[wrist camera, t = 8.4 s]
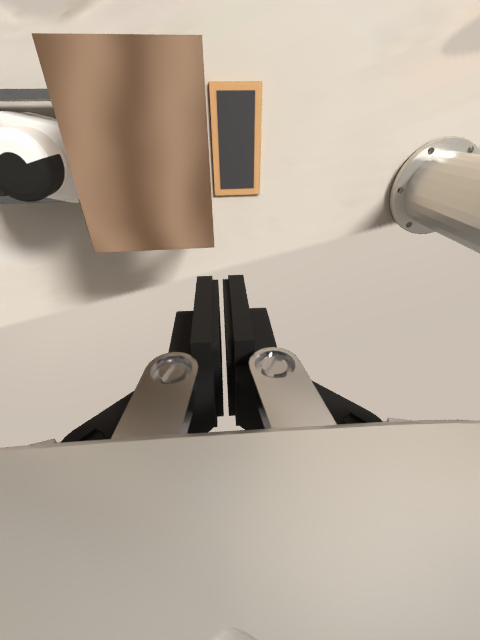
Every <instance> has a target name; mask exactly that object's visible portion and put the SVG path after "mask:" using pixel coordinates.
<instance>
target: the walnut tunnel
mask: <svg viewBox="0 0 480 640" xmlns="http://www.w3.org/2000/svg"><path fill="white" fill-rule="evenodd" d="M32 36H33V40H34V43H35V47H36V50H37V54H38V57H39V61H40V64H41V68H42V71H43V74H44V78H45V81H46V85H47V88H48V92H49V95H50V99H51V102H52V106H53V109H54V113H55V116H56V120H57V123H58V127H59V130H60V134H61V137H62V140H63V144H64V147H65V151H66V154H67V158H68V161H69V165H70V168H71V172H72V175H73V179H74V182H75V186H76V189H77V193H78V196H79V199H80V203H81V206H82V210H83V213H84V217H85V220H86V224H87V227H88V231H89V234H90V238H91V241H92V245H93V248H94V252H95V253H102V252H124V251H145V250H167V249H189V248H210V247H214V234H213V217H212V200H211V183H210V166H209V149H208V132H207V115H206V98H205V81H204V64H203V47H202V35H139V34H36V33H32Z"/></svg>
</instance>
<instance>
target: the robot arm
mask: <svg viewBox="0 0 480 640" xmlns="http://www.w3.org/2000/svg"><path fill="white" fill-rule="evenodd" d="M397 190H398V191H397ZM390 209H391V213H392V216H393V218H394V220H395V221H396V223H397V224H398V225H399V226H400V227H402V228H403V229H405V230H407V231H409V232H412V233H417V234H427V233H431V232H438V233H440V234H441V235H444V236H446V237H448V238H450V239H452V240H454V241H456V242H458V243H460V244H462V245H464V246H466V247H468V248H470V249H472V250H474V251H476V252H478V253H480V150H479V149H478V147H477V146H476V145H475V144H474V143H473V142H472V141H470V140H468V139H465V138H462V137H443V138H439V139H436V140H434V141H431V142H429V143H427V144H426V145H424V146H423V147H421V148H420V149H418V150H417V151H416V152H415V153H414V154H413V155H411V156H410V158H409V159H408V160H407V161H406V162H405V163H404V165H403V166H402V168H401V169H400V171H399V173H398V174H397V176H396V179H395V181H394V183H393V187H392V190H391V196H390ZM223 297H224V319H225V341H226V342H225V343H226V362H227V363H226V365H227V384H228V406H229V416H233V415H235V417H236V426H241V427H242V428H244V429H245V430H240V431H224V432H210V433H208V432H209V431H210V430H211V429H212V428H213V427H217V416H223V415H224V413H223V381H222V350H221V349H222V348H221V327H220V307H219V288H218V280H212V276H197V283H196V292H195V302H194V311H180V312H179V311H178V312H177V313H176V317H175V322H174V328H173V333H172V338H171V343H170V348H169V353H166V354H162V355H160V356H158V357H156V358H155V359H153V360H152V361H151V362H150V363H149V364H148V365H147V367H146V368H145V370H144V373H143V374H142V376H141V378H140V381H139V383H138V385H137V387H136V389H135V391H133V392H132V393H130V394H129V395H127V396H126V397H124V398H122V399H121V400H119V401H118V402H116V403H115V404H113V405H112V406H110V407H109V408H107V409H105V410H104V411H103V412H101V413H99V414H98V415H96V416H95V417H93V418H92V419H90V420H88V421H87V422H85V423H84V424H82V425H81V426H79V427H78V428H76V429H75V430H73V431H72V432H71V433H69V434H68V435H67V436H66V437H65V438H64V439H63V440H62V441H61V442H58V443H57V442H56V441H55V439H51V440H47V441H43V442H40V443H36V444H31V445H27V446H16V447H6V448H0V640H480V421H471V420H421V421H420V420H419V421H411V420H403V419H395V418H388V419H387V422H386V421H382V420H381V419H380V418H378V417H377V416H376V415H374V414H373V413H371V412H370V411H368V410H366V409H364V408H362V407H361V406H359V405H357V404H355V403H353V402H351V401H349V400H347V399H345V398H344V397H342V396H340V395H338V394H336V393H334V392H332V391H330V390H328V389H327V388H325V387H323V386H321V385H319V384H317V383H315V382H313V381H311V379H310V377H309V376H308V374H307V372H306V371H305V369H304V367H303V365H302V364H301V362H300V360H299V359H298V358H297V356H296V355H295V354H293V353H292V352H290V351H288V350H285V349H283V348H277V346H276V342H275V339H274V335H273V331H272V328H271V324H270V320H269V317H268V313H267V310H266V308H249V305H248V299H247V294H246V289H245V283H244V277H243V275H229V276H228V279H225V280H224V279H223Z"/></svg>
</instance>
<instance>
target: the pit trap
mask: <svg viewBox="0 0 480 640" xmlns="http://www.w3.org/2000/svg"><path fill="white" fill-rule="evenodd" d="M209 91H210V110H211V129H212V149H213V168H214V187H215V196H216V195H246V194H260V155H261V114H262V81H245V82H209Z"/></svg>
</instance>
